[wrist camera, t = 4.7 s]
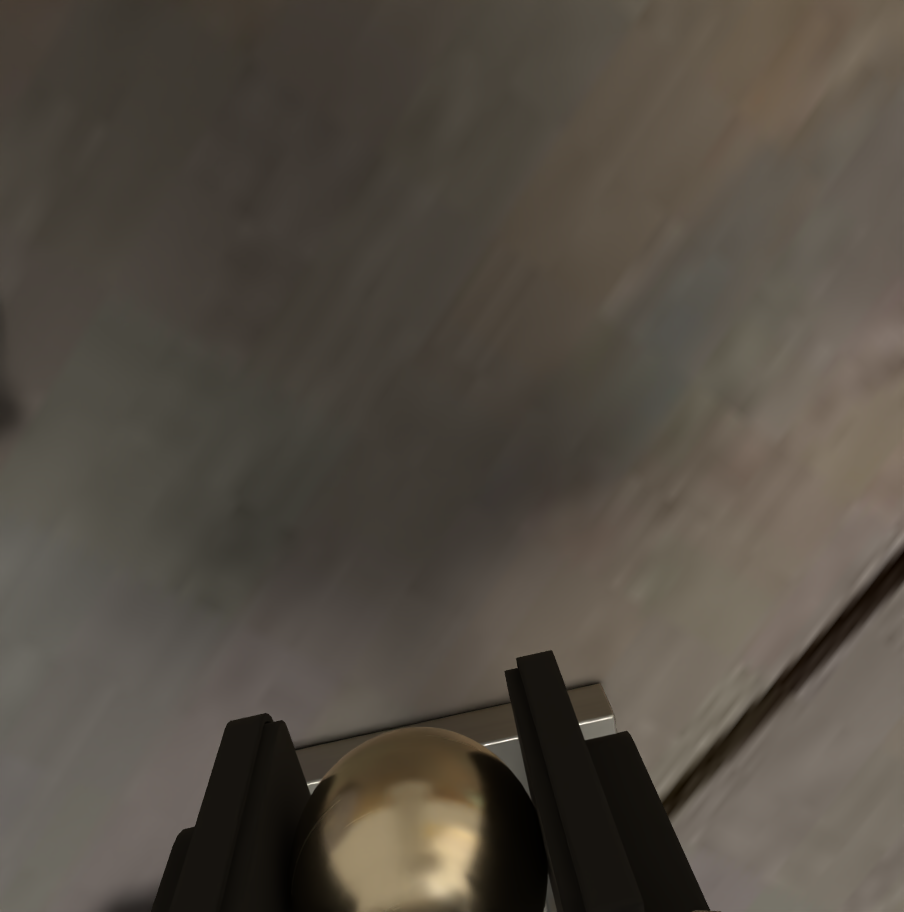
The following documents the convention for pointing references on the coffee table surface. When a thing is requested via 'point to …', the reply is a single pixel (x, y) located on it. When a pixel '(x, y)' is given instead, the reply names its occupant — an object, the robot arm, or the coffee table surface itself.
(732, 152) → the coffee table surface
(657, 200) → the coffee table surface
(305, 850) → the ball knob lever
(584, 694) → the lever bracket
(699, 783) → the coffee table surface
